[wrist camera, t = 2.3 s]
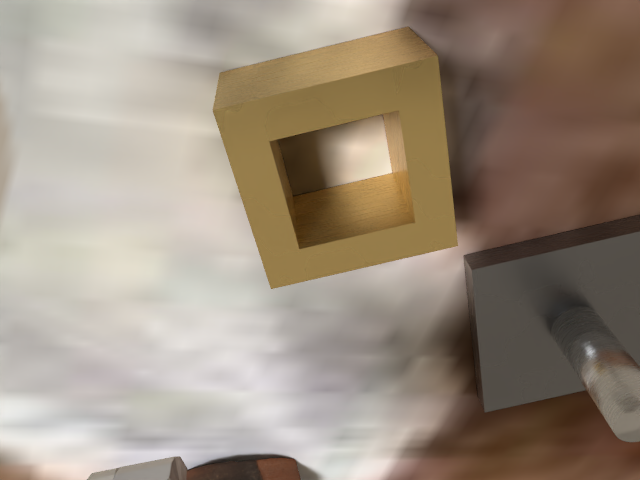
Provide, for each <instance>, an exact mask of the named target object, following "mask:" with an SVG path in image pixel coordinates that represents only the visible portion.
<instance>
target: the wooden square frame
mask: <svg viewBox="0 0 640 480" xmlns="http://www.w3.org/2000/svg"><path fill="white" fill-rule="evenodd" d="M213 113H214V116H215V119H216V122H217V125H218V128H219V131H220V134H221V137H222V140H223V143H224V146H225V149H226V152H227V155H228V158H229V162H230V165H231V168H232V171H233V174H234V177H235V180H236V183H237V186H238V189H239V192H240V195H241V198H242V201H243V204H244V207H245V211H246V214H247V217H248V220H249V223H250V226H251V229H252V232H253V235H254V238H255V241H256V244H257V247H258V250H259V253H260V256H261V260H262V263H263V266H264V269H265V272H266V275H267V278H268V281H269V284H270V287H271V289H273V288H278V287H282V286H286V285H291V284H295V283H299V282H304V281H308V280H312V279H317V278H321V277H325V276H330V275H334V274H338V273H343V272H347V271H351V270H356V269H360V268H364V267H369V266H373V265H377V264H382V263H386V262H390V261H395V260H399V259H403V258H408V257H412V256H416V255H421V254H425V253H429V252H434V251H438V250H442V249H447V248H451V247H455V246H458V242H457V233H456V223H455V214H454V204H453V195H452V185H451V176H450V166H449V157H448V147H447V138H446V128H445V119H444V109H443V99H442V90H441V80H440V71H439V61H438V55H437V54H436V53H435V52H434V51H433V50H432V49H431V48H430V47H428V46H427V45H426V44H425V43H424V42H423V41H422V40H421V39H420V38H419V37H418V36H417V35H416V34H415V33H414V32H413V31H412V30H411V29H410V28H409V27H405V28H401V29H397V30H393V31H389V32H384V33H380V34H376V35H372V36H368V37H364V38H360V39H356V40H352V41H348V42H344V43H339V44H335V45H331V46H327V47H323V48H319V49H315V50H311V51H307V52H303V53H299V54H294V55H290V56H286V57H282V58H278V59H274V60H270V61H266V62H262V63H258V64H254V65H249V66H245V67H241V68H237V69H233V70H229V71H225V72H221V73H220V74H219V80H218V85H217V90H216V96H215V101H214V106H213ZM381 114H383V118H384V124H385V130H386V136H387V142H388V148H389V154H390V161H391V167H392V173H391V174H387V175H382V176H378V177H374V178H370V179H366V180H361V181H357V182H353V183H349V184H344V185H340V186H336V187H332V188H327V189H323V190H319V191H315V192H310V193H306V194H302V195H298V196H293V194H292V190H291V186H290V183H289V179H288V175H287V172H286V168H285V164H284V161H283V157H282V153H281V150H280V146H279V142H278V139H281V138H285V137H289V136H294V135H298V134H302V133H306V132H310V131H315V130H319V129H323V128H327V127H331V126H335V125H340V124H344V123H348V122H352V121H356V120H360V119H365V118H369V117H373V116H377V115H381Z"/></svg>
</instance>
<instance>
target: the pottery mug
mask: <svg viewBox="0 0 640 480" xmlns="http://www.w3.org/2000/svg"><path fill="white" fill-rule="evenodd" d="M186 480H300V475H299V471H298V468H297V463H296V461H295V460H294V459H292V458H291V459H287V458H269V459H260V460H247V461H241V462H235V461H228V462H222V463H213V464H211V465H204V466H201V467H197V468H194V469H191V470H188V471H187V475H186Z"/></svg>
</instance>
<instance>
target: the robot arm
mask: <svg viewBox="0 0 640 480" xmlns="http://www.w3.org/2000/svg"><path fill="white" fill-rule="evenodd" d="M186 475H187V467H186V466H185V464H184V462H183V461H182V459H181V457H170V458H165V459H160V460H155V461H150V462H145V463H140V464H134V465H129V466H124V467H120V468H116V469H111V470H106V471H101V472H96V473H92V474H91V475H90V476H89V478H88V479H87V480H186Z"/></svg>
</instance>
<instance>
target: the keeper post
mask: <svg viewBox="0 0 640 480" xmlns="http://www.w3.org/2000/svg"><path fill="white" fill-rule="evenodd" d="M464 265H465V275H466V285H467V295H468V305H469V315H470V325H471V335H472V345H473V355H474V366H475V376H476V386H477V396H478V398H479V400H480V403H481V405H482V407H483V410H484V412H489V411H494V410H498V409H503V408H508V407H512V406H517V405H521V404H526V403H530V402H535V401H539V400H544V399H548V398H553V397H557V396H562V395H566V394H571V393H575V392H580V391H585V390H587V392H588V393H589V395H590V396H591V398H592V399H593V401H594V402H595V404H596V406H597V407H598V409H599V410H600V412H601V413H602V415H603V416H604V418H605V420H606V421H607V423H608V424H609V426H610V427H611V429H612V430H613V432H614V433H615V435H616V436H617V437H618V438H619V439H620V440H623V441H626V442H639V441H640V215H637V216H633V217H628V218H624V219H620V220H615V221H611V222H607V223H602V224H598V225H594V226H589V227H585V228H581V229H576V230H572V231H568V232H563V233H559V234H555V235H550V236H546V237H542V238H537V239H533V240H529V241H524V242H520V243H516V244H511V245H507V246H503V247H498V248H494V249H490V250H485V251H481V252H477V253H472V254H468V255H464Z"/></svg>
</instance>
